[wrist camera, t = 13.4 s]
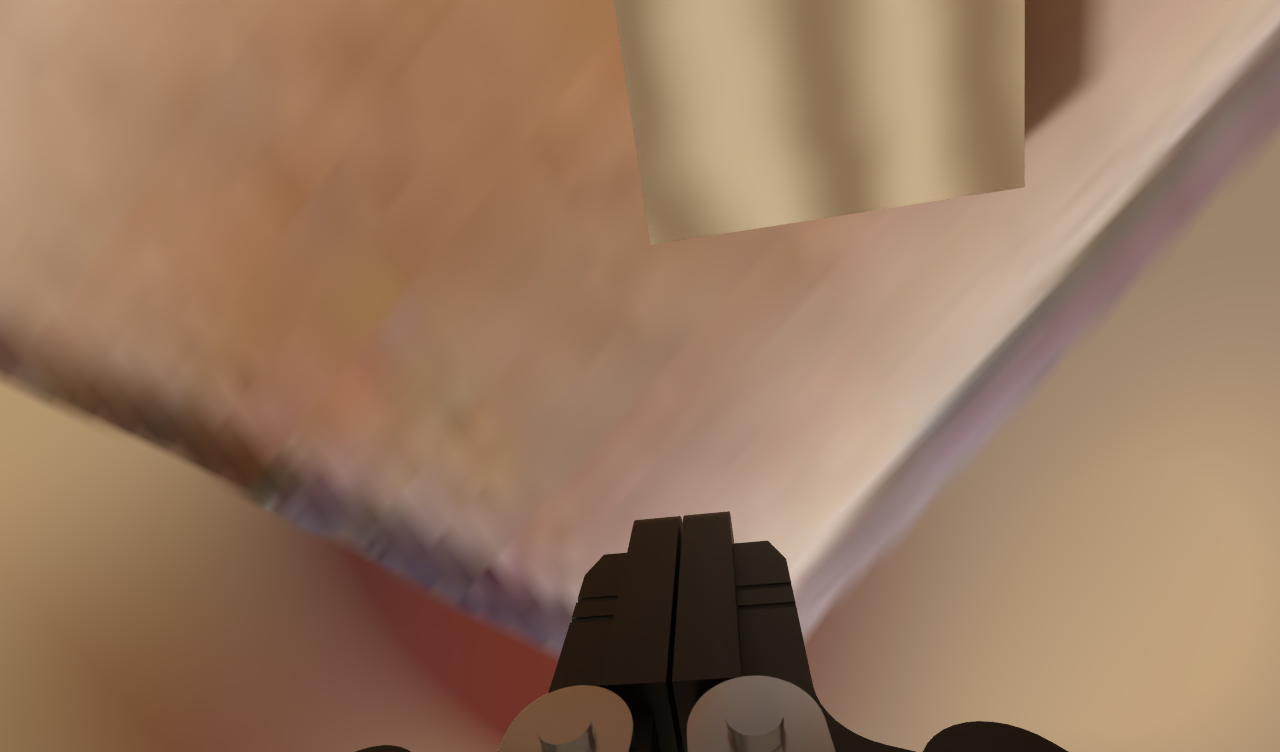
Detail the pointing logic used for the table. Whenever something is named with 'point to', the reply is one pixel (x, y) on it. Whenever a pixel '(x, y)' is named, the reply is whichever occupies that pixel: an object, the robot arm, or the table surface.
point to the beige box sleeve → (819, 107)
